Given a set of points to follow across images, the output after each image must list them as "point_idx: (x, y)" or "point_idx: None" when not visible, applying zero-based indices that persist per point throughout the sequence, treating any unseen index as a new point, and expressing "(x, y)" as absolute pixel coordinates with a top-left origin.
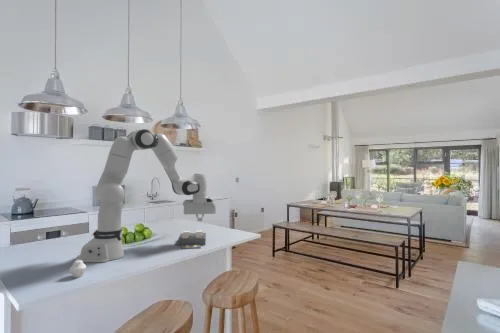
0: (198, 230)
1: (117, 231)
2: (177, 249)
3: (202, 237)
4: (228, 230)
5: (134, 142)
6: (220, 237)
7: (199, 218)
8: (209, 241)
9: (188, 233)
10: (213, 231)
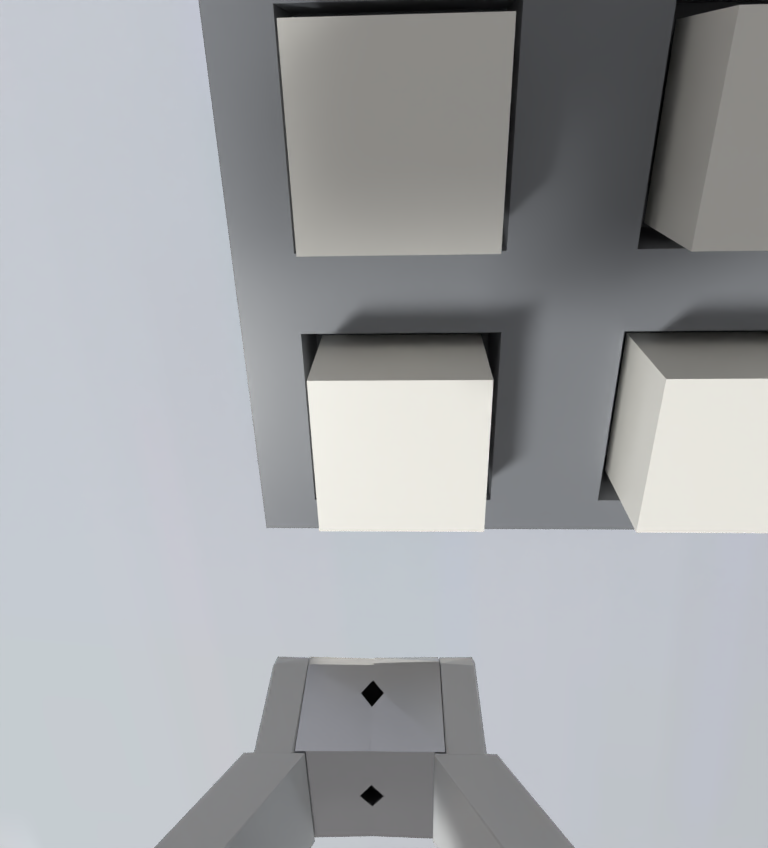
0: (429, 530)
1: None
2: None
3: None
4: (28, 839)
5: None
6: (47, 532)
7: (390, 761)
8: (194, 287)
9: (721, 219)
10: None
